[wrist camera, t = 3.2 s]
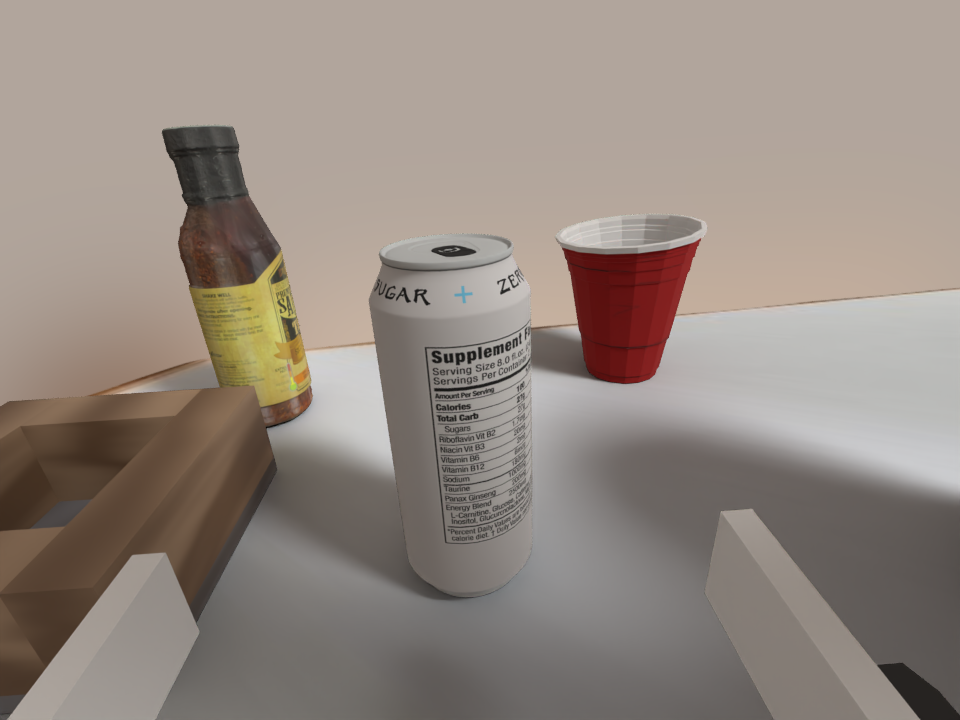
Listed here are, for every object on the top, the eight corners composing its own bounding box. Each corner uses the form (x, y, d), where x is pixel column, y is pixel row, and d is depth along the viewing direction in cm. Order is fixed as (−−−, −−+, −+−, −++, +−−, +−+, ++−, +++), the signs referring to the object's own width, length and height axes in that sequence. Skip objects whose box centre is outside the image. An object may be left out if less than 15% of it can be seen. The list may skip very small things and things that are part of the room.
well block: (277, 469, 31) (254, 385, 29) (153, 702, 18) (92, 587, 16) (52, 485, 31) (8, 401, 28) (-232, 732, 18) (-356, 619, 16)
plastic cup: (535, 353, 45) (535, 219, 40) (642, 337, 47) (654, 208, 42) (586, 410, 36) (593, 244, 31) (716, 387, 38) (744, 228, 33)
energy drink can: (488, 496, 28) (474, 225, 22) (558, 566, 23) (566, 246, 17) (389, 543, 25) (339, 246, 19) (445, 633, 20) (404, 278, 14)
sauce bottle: (325, 414, 37) (262, 121, 29) (235, 442, 34) (137, 126, 26) (304, 382, 42) (247, 125, 34) (225, 403, 39) (141, 130, 31)
